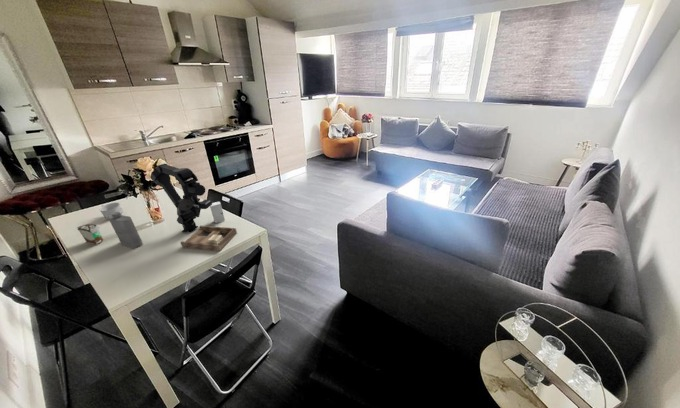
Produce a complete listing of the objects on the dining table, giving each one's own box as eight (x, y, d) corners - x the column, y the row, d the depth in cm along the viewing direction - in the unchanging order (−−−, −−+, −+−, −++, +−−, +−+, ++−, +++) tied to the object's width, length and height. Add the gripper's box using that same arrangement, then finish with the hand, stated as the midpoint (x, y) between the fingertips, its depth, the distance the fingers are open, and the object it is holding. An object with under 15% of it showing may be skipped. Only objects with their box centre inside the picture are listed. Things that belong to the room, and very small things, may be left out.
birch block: (209, 244, 142) (208, 239, 140) (215, 238, 146) (213, 234, 145) (217, 245, 141) (216, 240, 140) (223, 239, 145) (221, 235, 144)
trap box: (182, 247, 143) (180, 241, 142) (202, 230, 158) (200, 224, 156) (220, 251, 139) (218, 245, 137) (237, 233, 154) (235, 227, 152)
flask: (117, 243, 149) (101, 213, 139) (128, 238, 153) (113, 208, 144) (134, 249, 143) (118, 218, 134) (144, 243, 148) (130, 213, 138)
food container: (110, 239, 153) (102, 224, 148) (99, 245, 148) (90, 230, 143) (96, 235, 157) (88, 221, 152) (84, 241, 152) (76, 227, 147)
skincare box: (215, 223, 165) (210, 206, 159) (213, 220, 168) (208, 203, 162) (225, 220, 168) (220, 203, 162) (224, 217, 171) (219, 201, 165)
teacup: (127, 215, 179) (122, 204, 175) (108, 222, 171) (102, 211, 167) (118, 210, 185) (113, 200, 182) (99, 217, 177) (94, 206, 174)
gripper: (163, 197, 136) (173, 223, 143) (195, 199, 132) (203, 225, 140) (178, 188, 145) (187, 213, 153) (208, 190, 142) (216, 215, 149)
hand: (198, 217), depth 148 cm, fingers closed
